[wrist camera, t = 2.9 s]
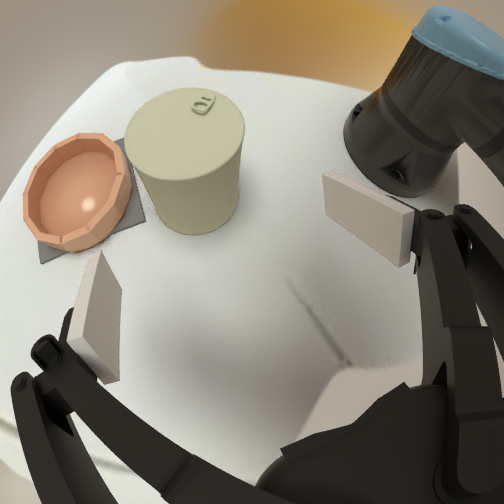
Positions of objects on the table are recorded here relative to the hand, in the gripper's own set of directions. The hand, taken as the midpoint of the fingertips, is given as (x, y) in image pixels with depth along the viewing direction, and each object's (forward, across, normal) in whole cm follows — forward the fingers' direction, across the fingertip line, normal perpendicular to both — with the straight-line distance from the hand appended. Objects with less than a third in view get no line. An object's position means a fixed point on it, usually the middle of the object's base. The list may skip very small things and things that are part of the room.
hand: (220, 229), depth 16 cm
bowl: (+19, +13, -1) cm, 23 cm away
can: (+16, 0, +3) cm, 16 cm away
